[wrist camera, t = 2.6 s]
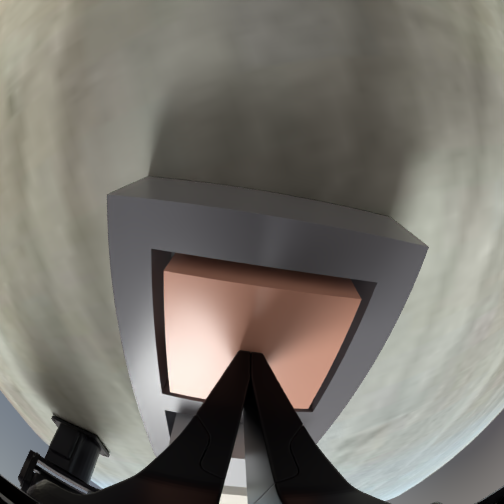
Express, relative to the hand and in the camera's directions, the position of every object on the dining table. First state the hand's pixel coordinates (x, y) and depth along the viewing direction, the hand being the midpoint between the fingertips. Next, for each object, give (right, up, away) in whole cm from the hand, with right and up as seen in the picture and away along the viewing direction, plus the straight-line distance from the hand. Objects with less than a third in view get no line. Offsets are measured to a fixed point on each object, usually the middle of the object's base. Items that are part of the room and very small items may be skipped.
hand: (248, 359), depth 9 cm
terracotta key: (0, +1, +2) cm, 2 cm away
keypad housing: (-1, -7, +7) cm, 10 cm away
